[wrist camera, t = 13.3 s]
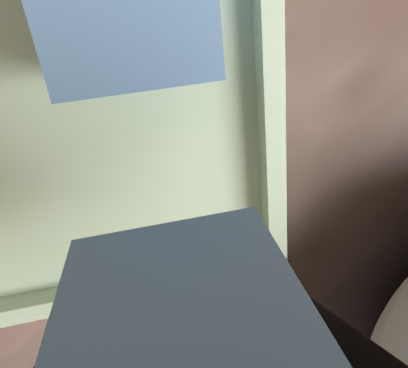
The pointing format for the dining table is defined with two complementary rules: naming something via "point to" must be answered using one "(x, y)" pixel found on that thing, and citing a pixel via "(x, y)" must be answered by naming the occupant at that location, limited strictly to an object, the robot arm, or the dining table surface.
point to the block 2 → (185, 301)
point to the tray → (134, 152)
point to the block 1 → (125, 45)
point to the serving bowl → (394, 325)
